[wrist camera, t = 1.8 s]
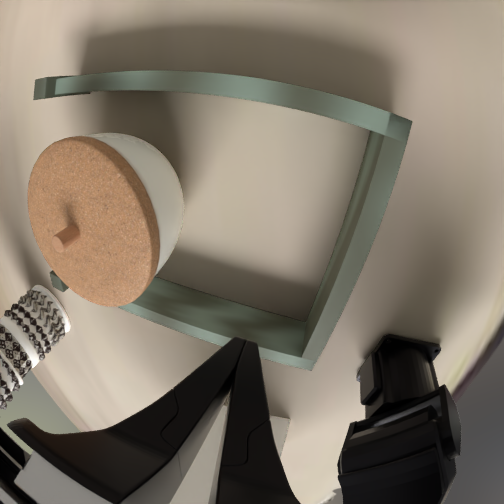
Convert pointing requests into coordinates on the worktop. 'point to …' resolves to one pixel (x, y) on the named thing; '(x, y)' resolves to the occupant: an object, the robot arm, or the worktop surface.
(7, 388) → the decorative candle
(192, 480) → the milk
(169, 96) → the worktop surface
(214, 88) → the green shallow rectangular frame
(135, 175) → the lidded jar
